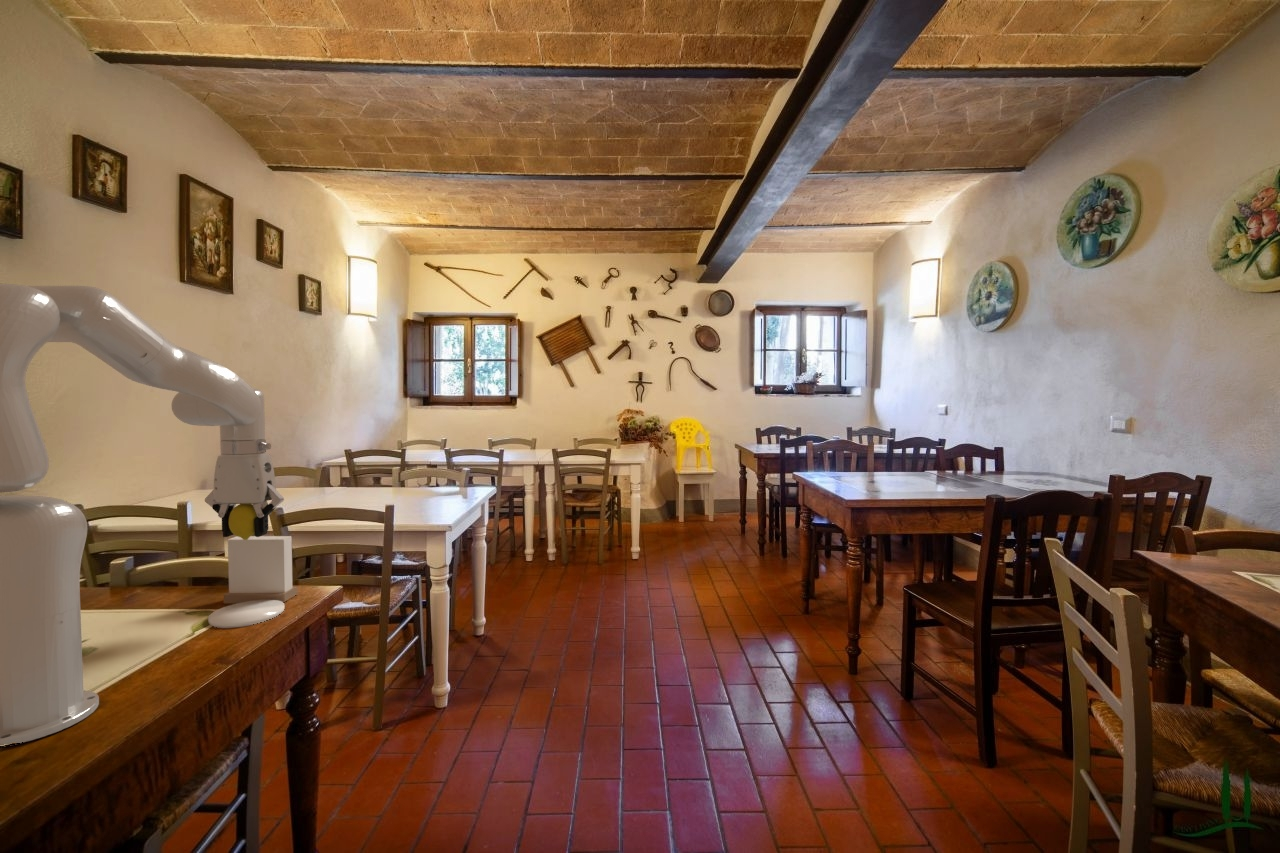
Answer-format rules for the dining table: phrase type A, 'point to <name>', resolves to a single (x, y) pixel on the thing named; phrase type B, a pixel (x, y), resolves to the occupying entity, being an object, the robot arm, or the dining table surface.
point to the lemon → (242, 520)
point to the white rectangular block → (260, 569)
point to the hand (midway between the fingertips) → (245, 534)
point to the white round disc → (246, 613)
